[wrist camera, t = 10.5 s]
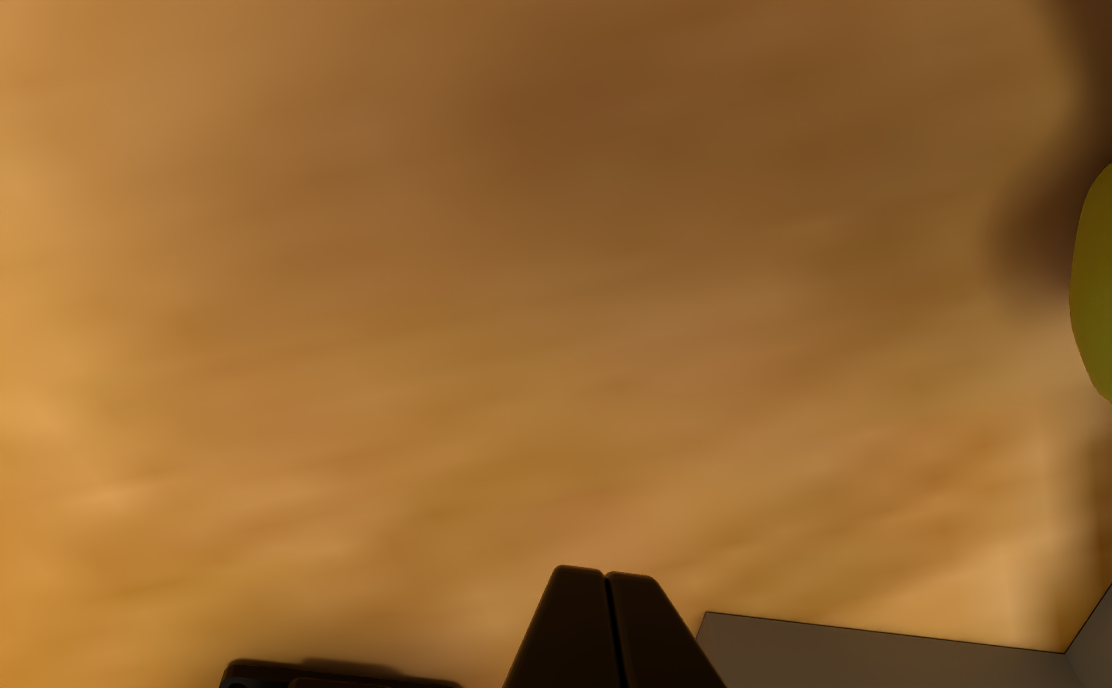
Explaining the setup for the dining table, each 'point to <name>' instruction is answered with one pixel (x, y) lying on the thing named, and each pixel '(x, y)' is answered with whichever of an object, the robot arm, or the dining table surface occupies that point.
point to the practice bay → (896, 657)
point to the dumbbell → (1094, 284)
